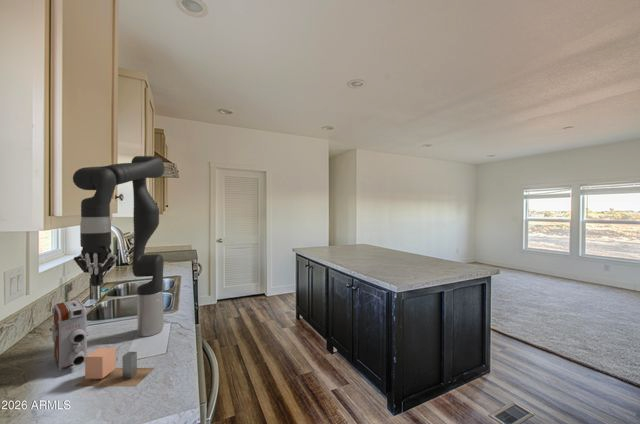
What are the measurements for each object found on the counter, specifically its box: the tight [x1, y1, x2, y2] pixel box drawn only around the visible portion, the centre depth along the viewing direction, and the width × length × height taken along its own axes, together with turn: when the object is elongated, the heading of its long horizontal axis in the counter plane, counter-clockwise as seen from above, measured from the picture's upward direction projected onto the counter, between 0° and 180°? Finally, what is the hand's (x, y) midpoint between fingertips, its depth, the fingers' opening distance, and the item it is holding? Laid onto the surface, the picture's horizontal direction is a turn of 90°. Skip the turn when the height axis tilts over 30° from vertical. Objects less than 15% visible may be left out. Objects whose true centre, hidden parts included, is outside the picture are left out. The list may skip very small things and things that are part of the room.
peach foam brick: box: [84, 347, 117, 379], centre depth 84 cm, size 5×5×7 cm
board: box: [75, 367, 155, 387], centre depth 84 cm, size 9×18×1 cm, turn 90°
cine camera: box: [51, 299, 91, 371], centre depth 92 cm, size 9×19×20 cm, turn 49°
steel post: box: [121, 351, 138, 379], centre depth 84 cm, size 3×3×7 cm
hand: (96, 285), depth 86 cm, fingers closed
